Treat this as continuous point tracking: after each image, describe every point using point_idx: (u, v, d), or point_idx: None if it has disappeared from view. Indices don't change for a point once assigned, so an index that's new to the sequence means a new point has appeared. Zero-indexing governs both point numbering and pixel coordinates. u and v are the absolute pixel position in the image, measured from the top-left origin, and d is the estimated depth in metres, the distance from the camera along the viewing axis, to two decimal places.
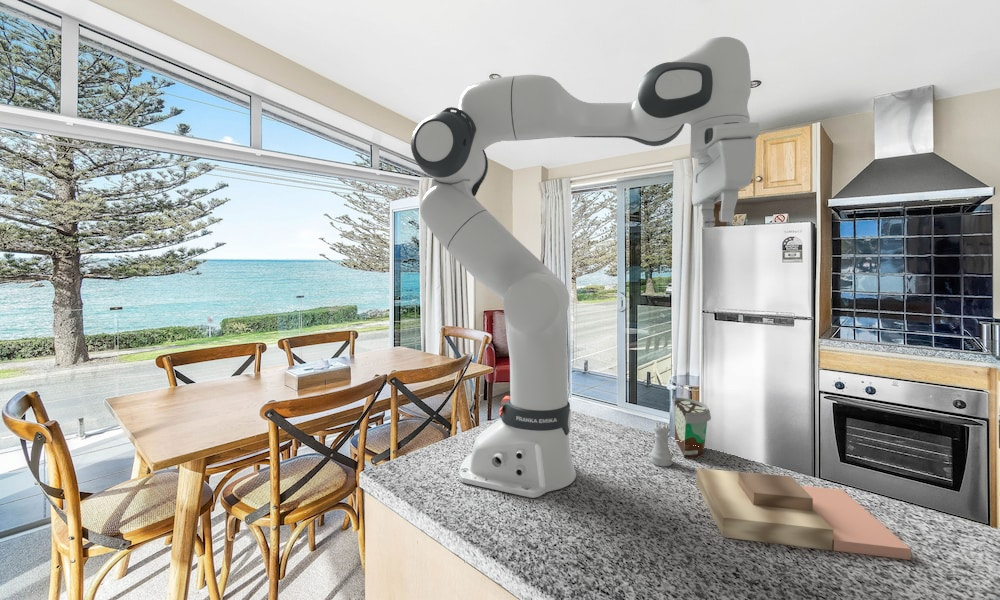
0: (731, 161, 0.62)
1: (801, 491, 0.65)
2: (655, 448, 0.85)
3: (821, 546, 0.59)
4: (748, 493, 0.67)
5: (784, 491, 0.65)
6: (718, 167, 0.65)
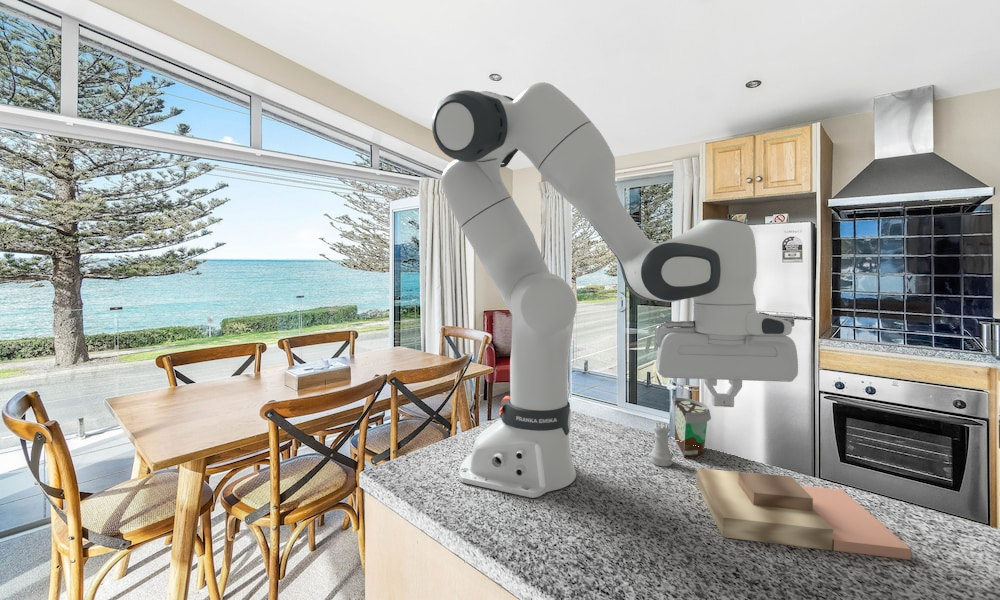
0: None
1: (801, 491, 0.65)
2: (655, 448, 0.85)
3: (821, 546, 0.59)
4: (748, 493, 0.67)
5: (784, 491, 0.65)
6: (771, 358, 0.64)
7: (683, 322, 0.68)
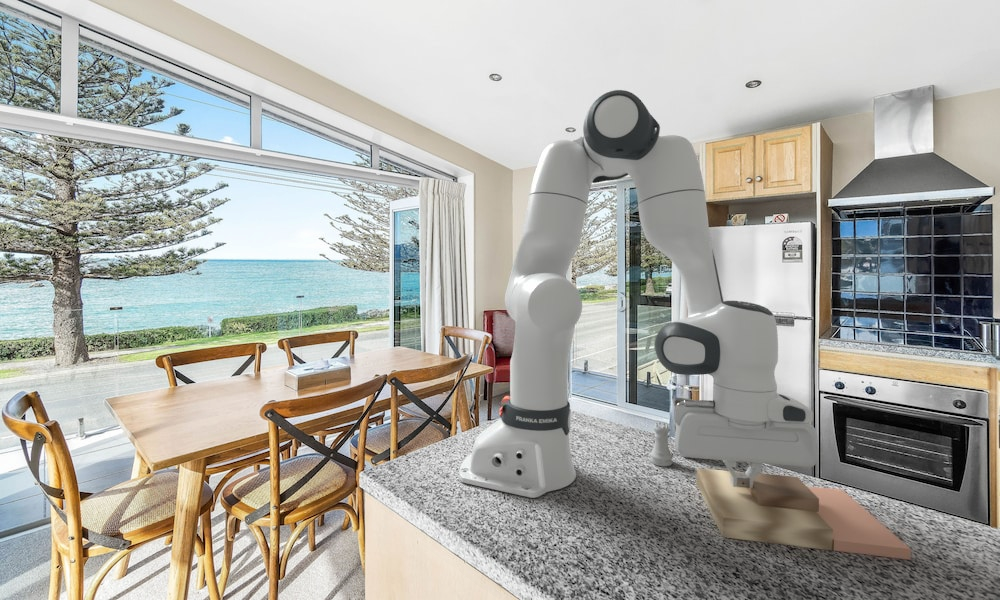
0: None
1: (807, 492, 0.64)
2: (655, 448, 0.85)
3: (821, 546, 0.59)
4: (754, 493, 0.66)
5: (790, 491, 0.65)
6: (791, 443, 0.64)
7: (703, 402, 0.68)
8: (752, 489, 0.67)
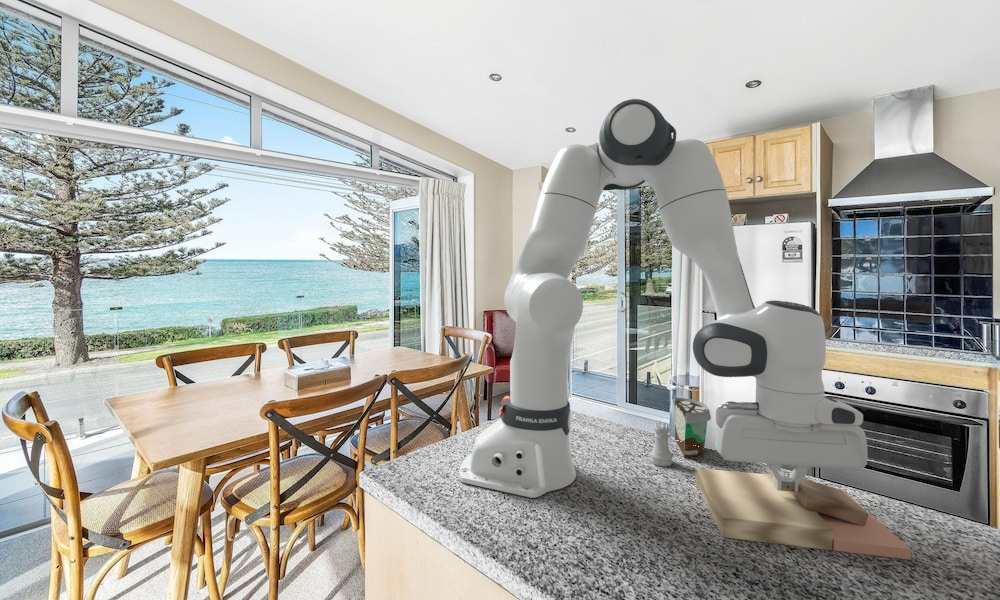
0: None
1: (855, 505, 0.63)
2: (655, 448, 0.85)
3: (821, 546, 0.59)
4: (799, 496, 0.65)
5: (838, 501, 0.63)
6: (839, 446, 0.63)
7: (746, 404, 0.67)
8: None
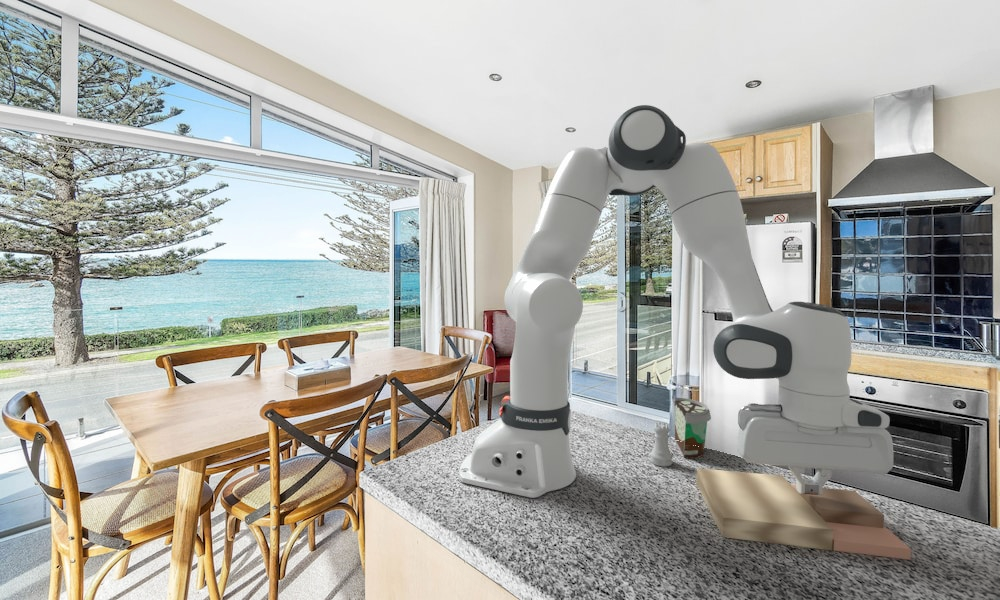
0: None
1: (870, 507, 0.63)
2: (655, 448, 0.85)
3: (821, 546, 0.59)
4: (813, 508, 0.65)
5: (852, 507, 0.63)
6: (864, 449, 0.62)
7: (769, 406, 0.66)
8: (811, 504, 0.65)
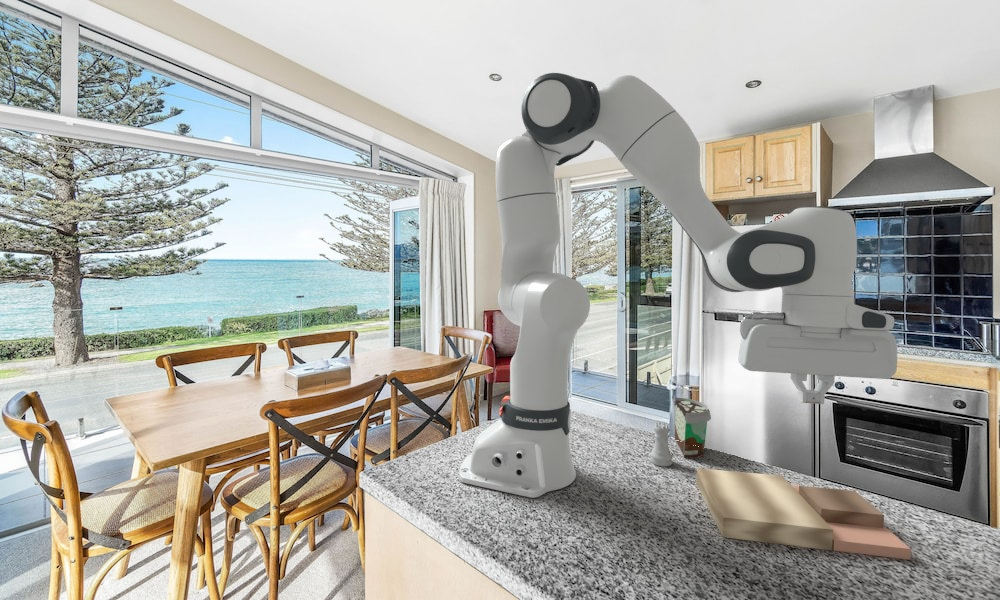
0: None
1: (870, 507, 0.63)
2: (655, 448, 0.85)
3: (821, 546, 0.59)
4: (813, 508, 0.65)
5: (852, 507, 0.63)
6: (868, 354, 0.61)
7: (772, 314, 0.65)
8: (811, 504, 0.65)
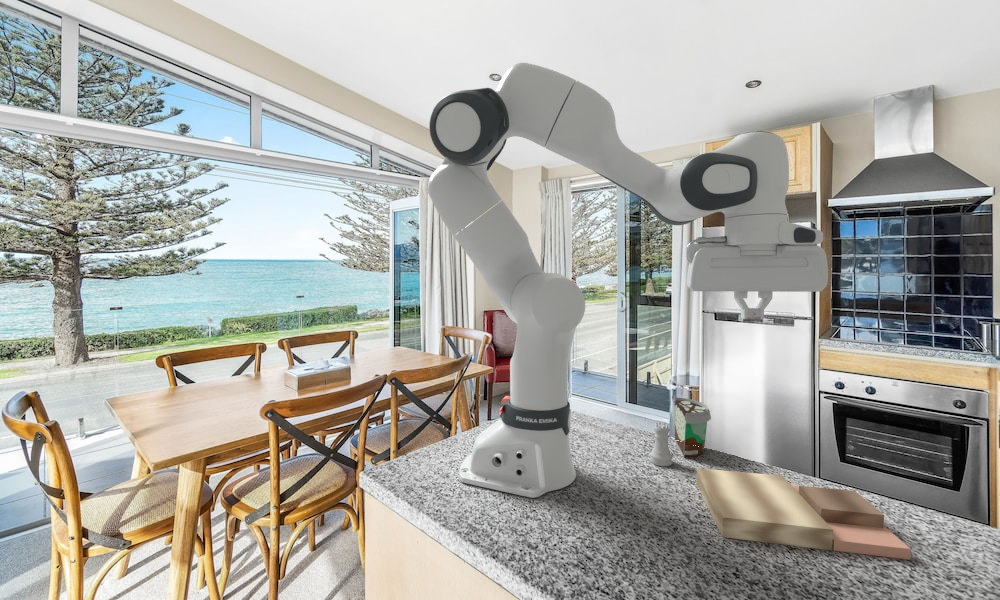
0: None
1: (870, 507, 0.63)
2: (655, 448, 0.85)
3: (821, 546, 0.59)
4: (813, 508, 0.65)
5: (852, 507, 0.63)
6: (801, 269, 0.66)
7: (715, 237, 0.70)
8: (811, 504, 0.65)
